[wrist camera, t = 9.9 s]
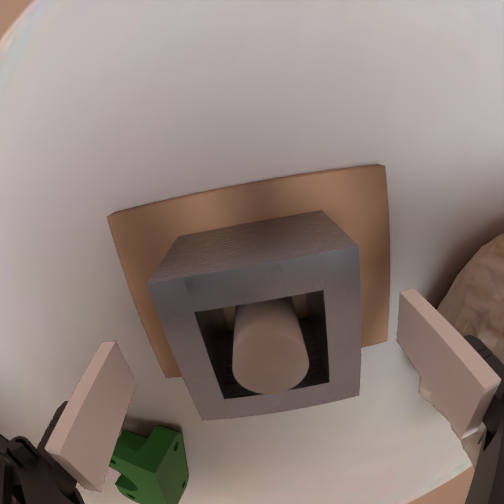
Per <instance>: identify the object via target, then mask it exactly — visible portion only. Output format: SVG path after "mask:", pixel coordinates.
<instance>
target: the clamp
mask: <svg viewBox="0 0 504 504" xmlns="http://www.w3.org/2000/svg"><path fill="white" fill-rule="evenodd" d="M109 467H111V468H113V469H115V470H117V471H118V472H120V473H121V475H120V477H119V478H118V480H117V481H116V483H115V485H116V486H117V488H118V489H119V491H120V492H121V493H122V494H123V495H124V496H126V497H127V498H129V499H131V500H133V501H135V502H137V503H140V504H178V503H179V501H180V499H181V496H182V494H183V492H184V490H185V488H186V486H187V482H188V470H187V464H186V458H185V452H184V446H183V439H182V434H181V433H179V432H176V431H173V430H170V429H167V428H165V427H162V426H156V427H155V428H154V430H153V431H152V433H151V434H150V436H149V437H148V439H146V438H143V437H141V436H138V435H136V434H133V433H131V432H129V431H125V430H124V431H123V432H122V433H121V435H120V436H119V438H118V439H117V442H116V445H115V448H114V451H113V454H112V457H111V460H110V463H109Z"/></svg>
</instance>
